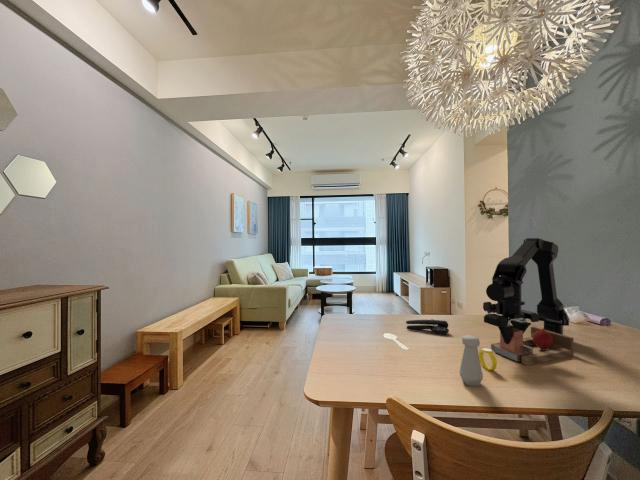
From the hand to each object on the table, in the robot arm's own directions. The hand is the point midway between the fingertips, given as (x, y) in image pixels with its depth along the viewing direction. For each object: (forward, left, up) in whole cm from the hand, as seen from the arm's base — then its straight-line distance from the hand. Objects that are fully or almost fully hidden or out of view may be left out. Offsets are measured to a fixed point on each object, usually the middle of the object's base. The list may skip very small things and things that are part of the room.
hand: (511, 342), depth 94 cm
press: (-1, 0, -4) cm, 4 cm away
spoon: (+29, -25, -5) cm, 39 cm away
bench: (-10, 0, -4) cm, 11 cm away
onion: (-16, 0, -5) cm, 16 cm away
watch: (+15, +4, -5) cm, 17 cm away
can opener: (+10, -31, -5) cm, 33 cm away
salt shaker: (+27, +9, -5) cm, 29 cm away
